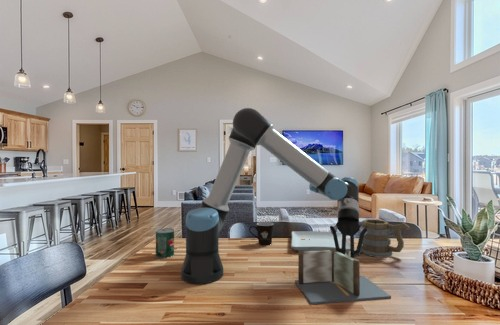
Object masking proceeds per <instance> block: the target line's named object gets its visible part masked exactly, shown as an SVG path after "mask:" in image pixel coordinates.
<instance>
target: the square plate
mask: <svg viewBox="0 0 500 325" xmlns="http://www.w3.org/2000/svg"><path fill="white" fill-rule="evenodd" d="M336 234H337V239H338V243H339V248H340V249H342V234H341V233H340V232H336ZM301 239H305V240H301ZM309 239H310V240H309ZM290 246H291V248H292V250H294V251H297V252H298V251H319V250H330V249H335V250H336V247H335V242H334V238H333V234H332V233H331V231H317V230H316V231H313V230H312V231H303V230H302V231H300V230H299V231H293V230H292V231H291V241H290ZM345 253H347V254H348V253H350V240H349V239H348V238H347V237H346V252H345Z"/></svg>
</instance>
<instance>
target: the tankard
mask: <svg viewBox="0 0 500 325" xmlns="http://www.w3.org/2000/svg"><path fill="white" fill-rule="evenodd" d="M361 227H362V228H363V229H364V228H366V229H367V234H366V236H365V237H364V240H363V244H362V248H361V252H360V253H363V255H366V254H367V255H366V256H370V255H371V257H374V256H375V258H388V257H390V256H392V255H393V253H401V252H402V250H403V249H404V246H405V245H404V244H405V242H404V239H403V237H402V231H401V230H402V229H404V230H406V231H407V230H409V229H410V226H409V225H408V224H406V223H405V222H402V223H399V224H394V225H393V224H390V223H389V222H388V221H386V220H383V219H382V220H381V219H374V218H372V219H370V218H369V219H368V218H367V219H364V220H362V225H361ZM391 229H392V230H394V235H395V239H396V241H397V246H393V245H391V239H390V234H391V231H392V230H391Z"/></svg>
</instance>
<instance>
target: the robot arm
mask: <svg viewBox="0 0 500 325" xmlns="http://www.w3.org/2000/svg"><path fill="white" fill-rule="evenodd" d="M228 140H229V146H228V148H227V151H226V154H225V156H224V159H223V161H222V163H221V166H220V167H219V170H218V173H217V175H216V178H215V179H214V182H213V184H212V186H211V190H210V192H209V195H208V196H207V197H205V198H203V200H202V201H201V204H200V206H199V207H197V208H195V209H194V208H193V209H191V210H189V211H188V212H187V214H186V215H185V256H184V259H183V263H182V266H181V270H180V278H181V280H182V281H184V282H186V283H189V284H197V285H199V284H201V285H202V284H208V283H213V282H215V281H218V280H220V279H221V278H222V277H223V276H224V266H223V262H222V260H221V257H220V253H219V252H220V251H219V234H220V232H221V230H222V229H223V227H224V225H225V223H226V222H225V221H226V219H227V216H228V215H229V211H230V208H229V206H228V205H229V203H230V199H231V198H232V195H233V193H234V190H235V188H236V186H237V183H238V181H239V179H240V175H241V173H242V170H243V169H244V167H245V163H246V161H247V159H248V156H249V154H250V152H252V151H254V150H255V149H256V148H257V146H261V147H262V148H263V149H264V150H266V151H267V152H269V153H270V154H271V155H272V156H274V157H275V158H277V159H278V160H279V161H280V162H282V163H283V164H284V165H285V166H287V167H288V168H290V169H291V170H292V171H293V172H295V173H296V174H297V175H298V176H299V177H301V178H302V179H304V180H305V181H307V182H308V183H309V184H308V185H309V190H310V191H311V192H314V193H315V194H316V193H317V194H320V195H322V196H325V197H326V198H328V199H330V200H332V201H338V206H337V211H338V212H337V222H336V224H334V225H330V226H329V230H330V231H329V232H331V233H332V234H333V238H334V242H335V247H336V252H337V251H338V252H340V253H342V254H345V255H347V256H349V257H351V258H354V259H355V257H356V256H357V257H358V256H360V255H361V253H362V252H361V248H362V245H363V240H364V237H365V236H366V234H367V229H366V228H364V229H363V228H362V227H361V226H362V225H361V224H360V204H359V203H360V202H359V200H360V198H359V195H360V194H359V193H360V190H359V183H358V181H357V179H356V178H354V177H352V176H349V177H346V176H345V177H342V178H340V177H339V178H338V177H337V176H336V175H334V174H333V173H331V172H330V171H329V170H327V169H326V168H325V167H323V166H322V165H321V164H320V163H319V162H317V161H316V160H315V159H313V158H312V157H311V156H309V155H308V154H307V153H306V152H304V151H303V149H300V148H299V147H298V146H297V145H295V144H294V143H293V142H291V141H290V140H289V139H288V138H286V137H285V136H284V135H282V134H281V133H279V132H278V130H276V129H275V128H274V124H273V123H272V122H271V121H269V120H268V119H267V118H265V116H263V115H262V114H261V112H259V111H258V110H256V109H254V108H251V107H244V108H241V109H240V110H238V111H237V112H236V113H235V115H234V116H233V119H232V129H231V132H230V134H229V136H228ZM338 231H339V233H341V234H342V249H340V248H339V243H338V239H337V234H336V233H338ZM358 232H359V236H358V237H359V238H358V242H357V245H356V249H355V235H356V234H358ZM347 236H348V237H349V238H350V240H349V242H350V252H348V253H345V252H346V238H347Z"/></svg>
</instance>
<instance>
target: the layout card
mask: <svg viewBox="0 0 500 325" xmlns="http://www.w3.org/2000/svg"><path fill="white" fill-rule="evenodd" d="M294 283H295V284H296V286H298V288H299V289H300V291H301V292H302V293H303V295H304V297H305V298H306V299H307V301H308V302H309V304H310V305H318V304H319V305H320V304H321V305H322V304H331V303H332V304H333V303H346V302H356V301H357V302H359V301H370V300H371V301H372V300H383V299H384V300H386V299H392V296H391V295H390V294H389V293H387V292H386V291H385V290H383V289H382V288H381V287H379V286H378V284H375V283H374V282H372V281H371V280H370V279H369V278H367V277H366V276H364V275H360V295H354V294H353V293H352V292H350V291H348V290H346V289H345V288H343V287H341V286H340V285H338V284H336V283H335V282H331V281H327V282H312V283H304V284H299V283H298V279H295V280H294Z"/></svg>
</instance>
